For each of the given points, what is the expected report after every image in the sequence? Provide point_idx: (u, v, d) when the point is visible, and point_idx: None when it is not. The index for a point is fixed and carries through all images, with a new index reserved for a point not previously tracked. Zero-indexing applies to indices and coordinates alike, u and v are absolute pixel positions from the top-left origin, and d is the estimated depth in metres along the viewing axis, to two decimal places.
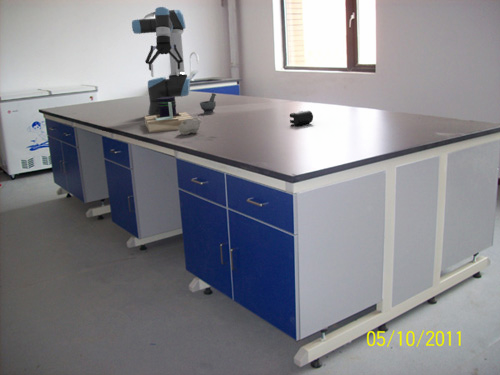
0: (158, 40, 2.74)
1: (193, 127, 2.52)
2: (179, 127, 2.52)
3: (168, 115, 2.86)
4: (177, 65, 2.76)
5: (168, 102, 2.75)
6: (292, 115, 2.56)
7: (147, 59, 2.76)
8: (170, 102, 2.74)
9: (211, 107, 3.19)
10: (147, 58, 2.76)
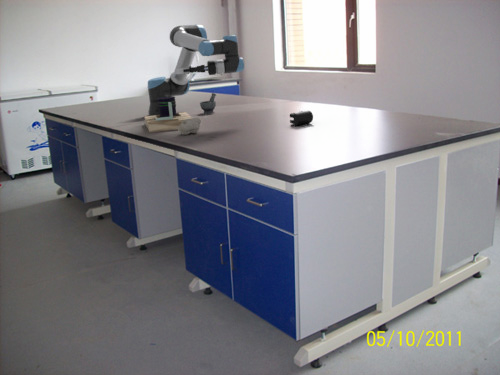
0: (211, 73, 2.73)
1: (193, 127, 2.52)
2: (179, 127, 2.52)
3: (168, 115, 2.86)
4: None
5: (168, 102, 2.75)
6: (292, 115, 2.56)
7: None
8: (170, 102, 2.74)
9: (211, 107, 3.19)
10: (195, 71, 2.64)
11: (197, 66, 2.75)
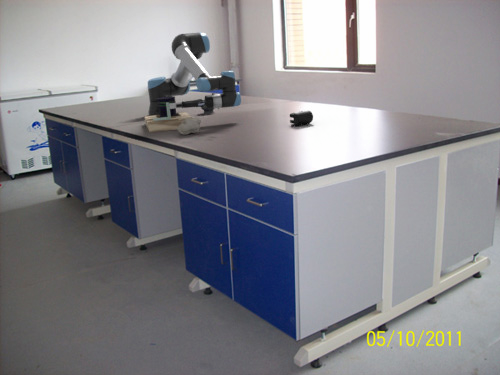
0: (209, 108, 2.77)
1: (193, 127, 2.52)
2: (179, 127, 2.52)
3: None
4: None
5: None
6: (292, 115, 2.56)
7: None
8: None
9: None
10: (188, 107, 2.72)
11: (195, 100, 2.77)
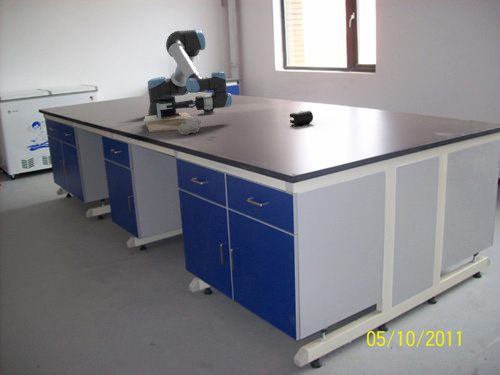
0: (199, 109, 2.76)
1: (193, 127, 2.52)
2: (179, 127, 2.52)
3: (168, 115, 2.86)
4: None
5: None
6: (292, 115, 2.56)
7: None
8: (158, 103, 2.73)
9: None
10: (178, 108, 2.71)
11: (185, 101, 2.76)
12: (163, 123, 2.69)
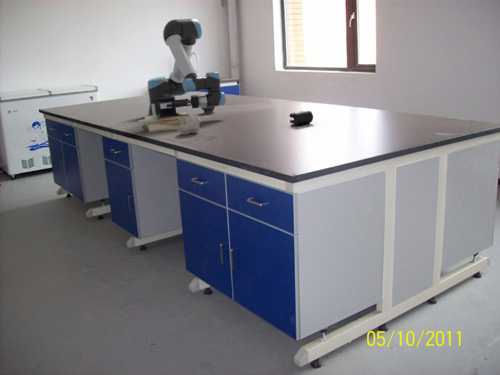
0: (194, 107, 2.91)
1: (193, 127, 2.52)
2: (179, 127, 2.52)
3: (168, 115, 2.86)
4: None
5: (151, 104, 2.73)
6: (292, 115, 2.56)
7: None
8: (153, 104, 2.72)
9: (211, 107, 3.19)
10: None
11: (181, 100, 2.92)
12: (163, 123, 2.69)
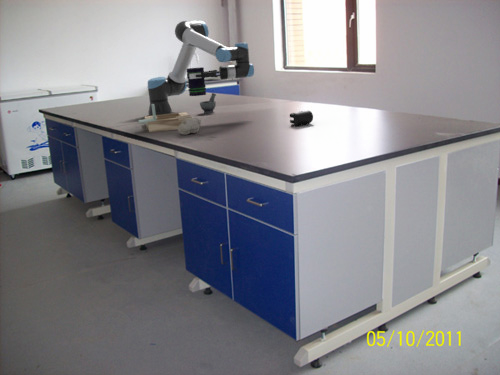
0: (223, 78, 2.90)
1: (193, 127, 2.52)
2: (179, 127, 2.52)
3: (197, 86, 2.85)
4: None
5: (151, 104, 2.73)
6: (292, 115, 2.56)
7: (206, 77, 2.82)
8: (153, 104, 2.72)
9: (211, 107, 3.19)
10: None
11: (209, 71, 2.91)
12: (163, 123, 2.69)
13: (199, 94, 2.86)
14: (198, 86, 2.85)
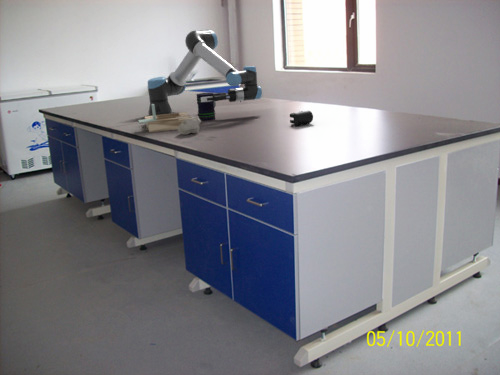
0: (232, 100, 2.96)
1: (193, 127, 2.52)
2: (179, 127, 2.52)
3: (207, 111, 2.91)
4: None
5: (151, 104, 2.73)
6: (292, 115, 2.56)
7: (217, 100, 2.87)
8: (153, 104, 2.72)
9: None
10: (218, 100, 2.87)
11: (218, 93, 2.97)
12: (163, 123, 2.69)
13: (209, 119, 2.93)
14: (208, 111, 2.91)
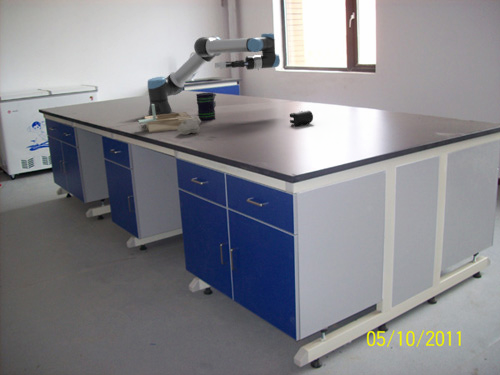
0: (249, 68, 2.93)
1: (193, 127, 2.52)
2: (179, 127, 2.52)
3: (207, 111, 2.91)
4: None
5: (151, 104, 2.73)
6: (292, 115, 2.56)
7: None
8: (153, 104, 2.72)
9: None
10: (237, 66, 2.85)
11: (236, 61, 2.95)
12: (163, 123, 2.69)
13: (209, 119, 2.93)
14: (208, 111, 2.91)
